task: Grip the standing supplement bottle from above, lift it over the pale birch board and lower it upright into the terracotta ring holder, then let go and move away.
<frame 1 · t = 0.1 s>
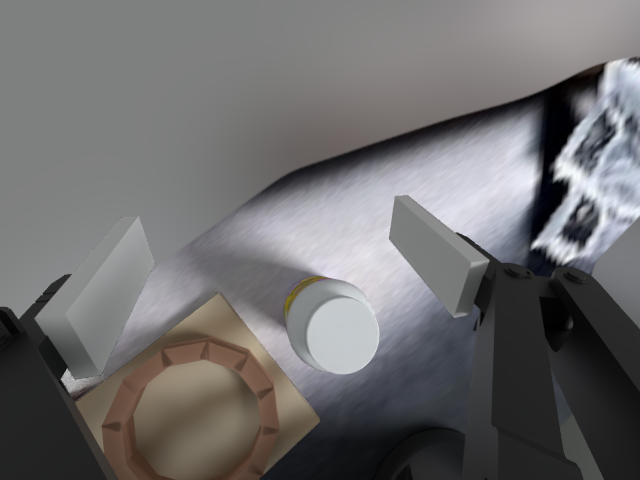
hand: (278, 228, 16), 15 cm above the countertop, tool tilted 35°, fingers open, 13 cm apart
supplement bottle: (314, 307, 31), on the countertop
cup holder: (202, 411, 28), on the countertop
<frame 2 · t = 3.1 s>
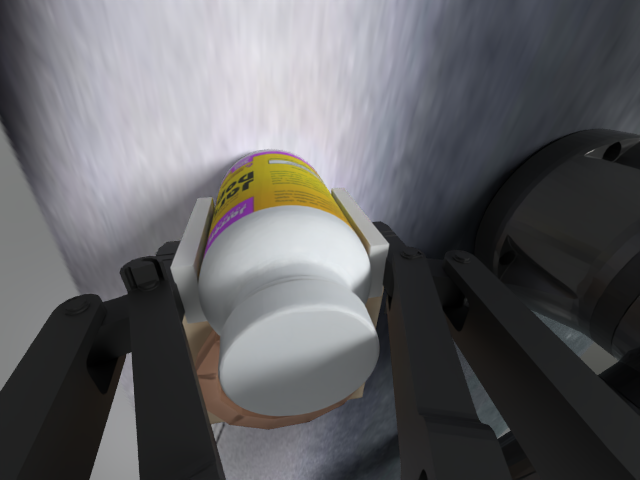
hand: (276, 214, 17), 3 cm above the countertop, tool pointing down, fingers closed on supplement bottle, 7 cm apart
supplement bottle: (272, 197, 19), on the countertop, touching gripper
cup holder: (284, 348, 26), on the countertop
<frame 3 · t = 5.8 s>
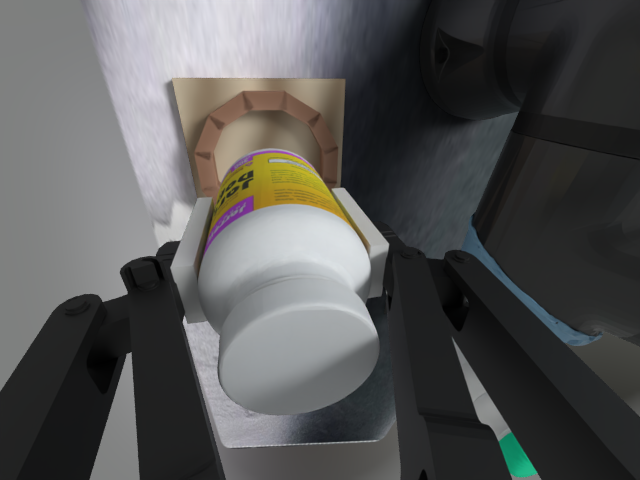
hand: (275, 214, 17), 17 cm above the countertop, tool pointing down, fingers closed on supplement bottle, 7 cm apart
water bottle: (404, 282, 46), on the countertop
supplement bottle: (272, 196, 19), point 14 cm above the countertop, touching gripper
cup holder: (269, 161, 32), on the countertop
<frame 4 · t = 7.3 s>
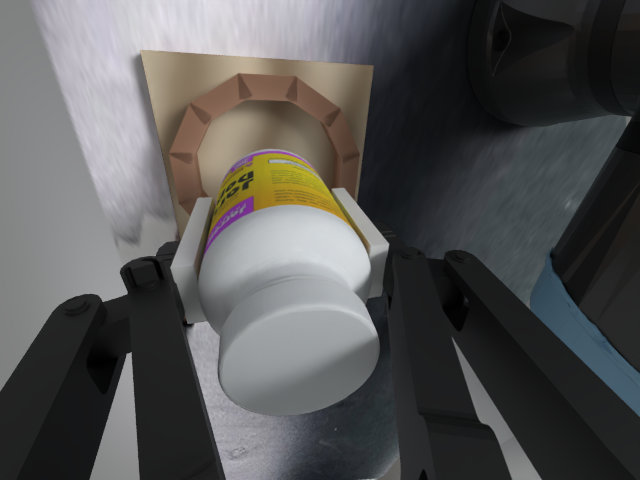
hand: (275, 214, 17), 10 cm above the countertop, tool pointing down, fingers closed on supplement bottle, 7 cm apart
water bottle: (422, 313, 39), on the countertop
supplement bottle: (272, 197, 19), point 7 cm above the countertop, touching gripper
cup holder: (269, 167, 25), on the countertop
when the fingers open (5 cm above the countertop, at t = 8.6 s): supplement bottle drops 1 cm, resting on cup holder.
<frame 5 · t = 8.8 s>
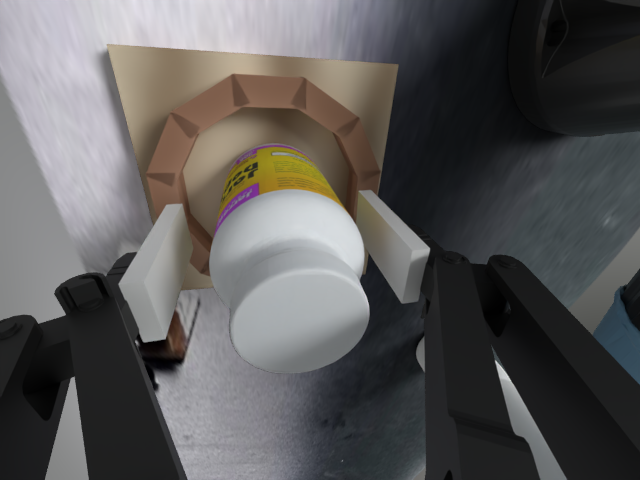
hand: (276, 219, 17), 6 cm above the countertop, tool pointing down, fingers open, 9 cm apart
water bottle: (440, 340, 35), on the countertop
supplement bottle: (274, 189, 21), point 1 cm above the countertop, touching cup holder
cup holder: (270, 185, 21), on the countertop
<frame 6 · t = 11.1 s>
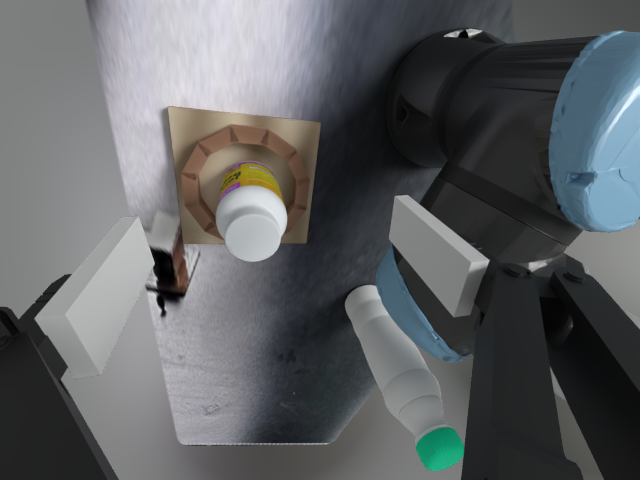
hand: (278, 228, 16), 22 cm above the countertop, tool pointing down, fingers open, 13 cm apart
water bottle: (362, 298, 51), on the countertop
supplement bottle: (250, 185, 36), point 1 cm above the countertop, touching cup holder
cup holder: (248, 183, 36), on the countertop
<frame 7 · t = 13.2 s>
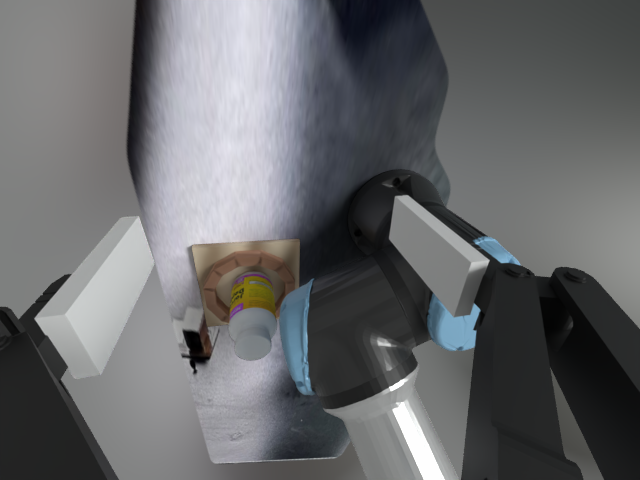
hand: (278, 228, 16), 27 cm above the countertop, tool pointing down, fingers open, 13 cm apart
supplement bottle: (252, 285, 49), point 1 cm above the countertop, touching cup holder
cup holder: (251, 282, 49), on the countertop
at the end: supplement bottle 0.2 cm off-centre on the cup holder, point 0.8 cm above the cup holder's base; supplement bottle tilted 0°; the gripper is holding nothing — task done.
